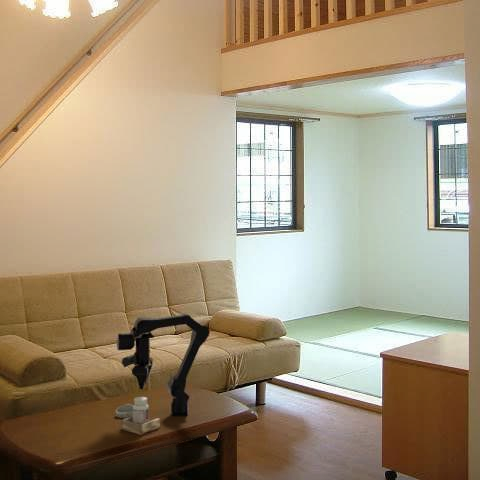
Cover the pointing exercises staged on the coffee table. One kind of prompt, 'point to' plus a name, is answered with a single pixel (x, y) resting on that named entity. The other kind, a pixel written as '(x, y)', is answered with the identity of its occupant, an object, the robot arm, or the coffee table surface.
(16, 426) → the coffee table surface
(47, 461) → the coffee table surface
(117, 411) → the wristwatch
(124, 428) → the open tray
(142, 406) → the pill bottle
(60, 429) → the coffee table surface
